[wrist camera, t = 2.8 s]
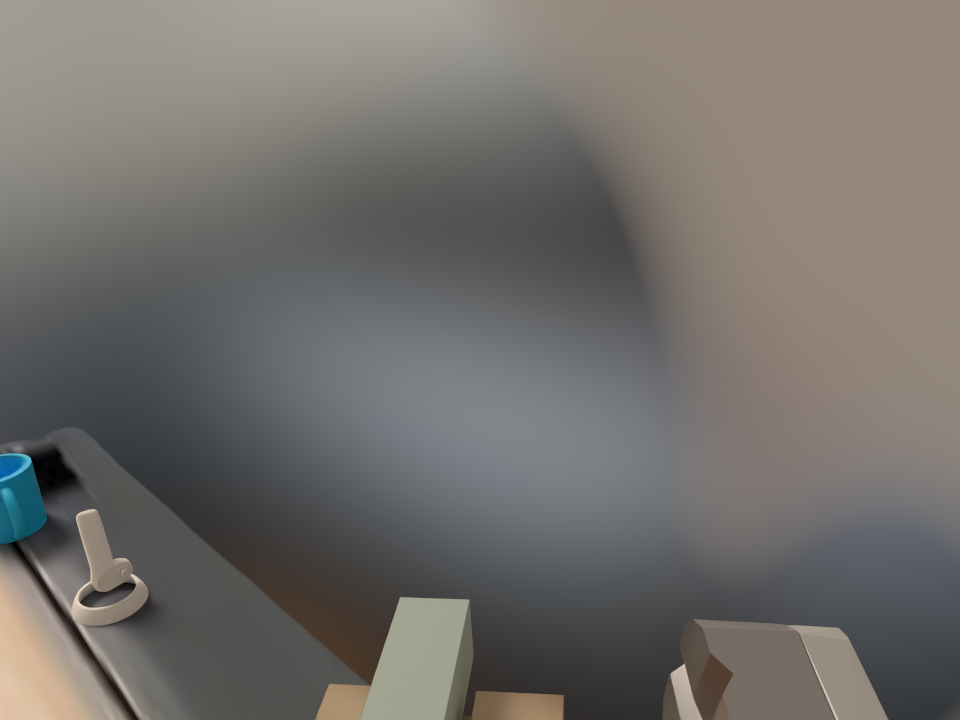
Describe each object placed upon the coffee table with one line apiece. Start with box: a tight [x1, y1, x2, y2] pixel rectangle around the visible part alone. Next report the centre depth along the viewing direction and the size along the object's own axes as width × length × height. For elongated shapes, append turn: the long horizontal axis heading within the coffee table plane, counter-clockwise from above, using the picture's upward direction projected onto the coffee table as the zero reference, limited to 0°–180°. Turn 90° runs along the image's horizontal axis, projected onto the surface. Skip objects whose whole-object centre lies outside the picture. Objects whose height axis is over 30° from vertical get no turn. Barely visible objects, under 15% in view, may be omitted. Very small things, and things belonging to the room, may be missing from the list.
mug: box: [0, 454, 47, 545], centre depth 103 cm, size 12×8×8 cm
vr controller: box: [72, 509, 149, 626], centre depth 90 cm, size 8×12×7 cm
